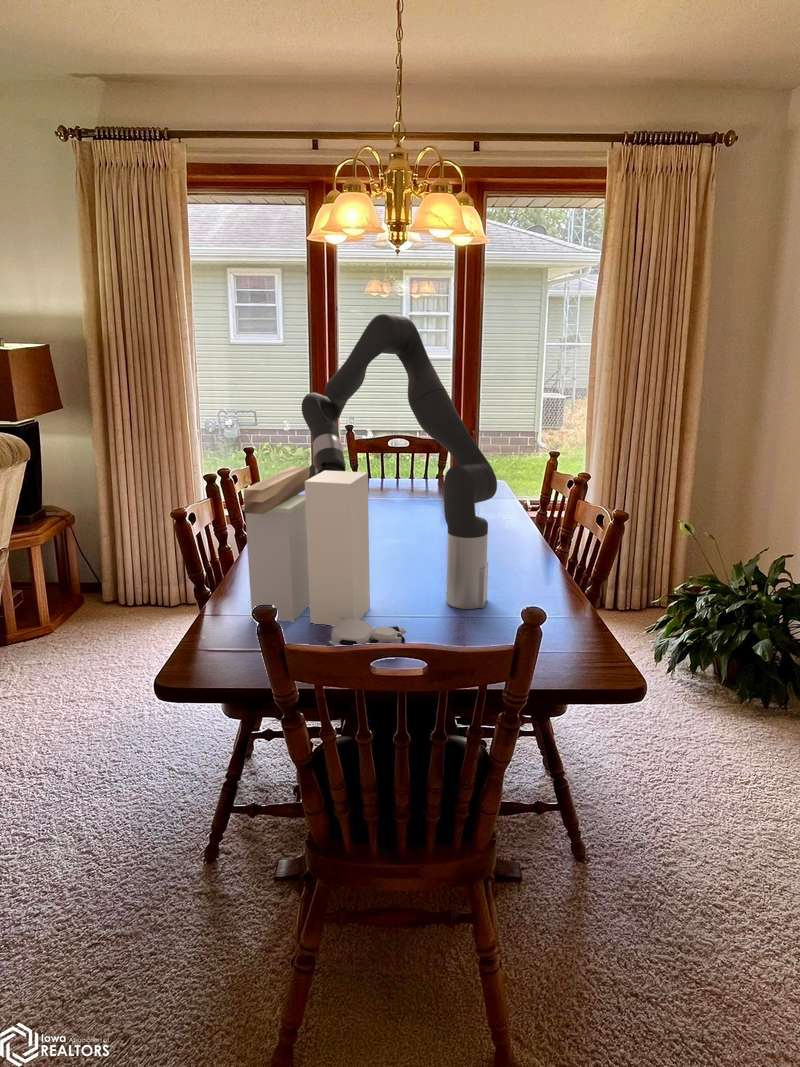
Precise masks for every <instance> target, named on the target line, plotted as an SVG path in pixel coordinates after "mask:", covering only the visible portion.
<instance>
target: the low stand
mask: <svg viewBox="0 0 800 1067" xmlns="http://www.w3.org/2000/svg"><path fill="white" fill-rule="evenodd" d="M241 511H244V514H245V515H244V516H245V529H246V530H245V532H246V533H245V534H246V545H247V546H246V547H247V548H246V549H247V559H248V562H247V563H248V577H249V587H250V588H249V590H250V608H251V611H252V610H253V608H254V607H255V606H258V605H261V604H271V605H274V606H275V607H276V608H277V610H278V618H277V620H276V621H278V622H279V619H280V622H282V621H281V620H284V621H283V622H287V621H294V622H296V620H298V618H300V617H301V616H302V614H303V613H304V612H305V611H306V610H307V609H308V608H309V607H310V606H309V605H310V600H309V576H308V551H307V527H306V503H305V494H300V493H299V494H297V495H296V496H294V497H292V498H290V499H289V500H287V501H285V502H283V503H282V504H280V505H278V506H276V507H275V508H273V509H271V510H269V511H268V512H266V513H264V514H251V513H245V506H244V504H243V505H241ZM308 606H309V607H308ZM307 607H308V608H307ZM306 608H307V609H306ZM305 609H306V610H305ZM304 610H305V611H304ZM303 611H304V612H303ZM302 612H303V613H302ZM301 613H302V614H301ZM297 617H298V618H297ZM295 619H296V620H295Z"/></svg>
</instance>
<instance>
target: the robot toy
mask: <svg viewBox="0 0 800 1067" xmlns="http://www.w3.org/2000/svg"><path fill="white" fill-rule="evenodd" d="M339 618H340V619H342V621H340V622H339V623H337V624H336V625H335V626H332V628H331V637H330V638H331V640H329V641H328V643H329V644H331V646H333V645H353V644H366V643H404V644H405V643H406V638H405V636H403V635H404V634H407V633H406V632H407V629H405V628H404V627H399V626H397V625H396V626H376V627H374V628H373V626H372V624H371V623H369V622H368V621H366V620H362V619H361V620H353V619H345V618H343V617H339Z"/></svg>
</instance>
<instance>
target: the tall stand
mask: <svg viewBox="0 0 800 1067" xmlns="http://www.w3.org/2000/svg"><path fill="white" fill-rule="evenodd" d="M304 492H305V493H304V495H305V503H306V527H307V551H308V576H309V600H310V606H309V615H310V616H309V622H310V623H315V624H325V625H326V624H328V625H336V624H337V623H339V622H340V621H342V619H340V618H339V617H343V618H345V619H353V620H360V619H361V618H362V619H363V618H364V617H365V615H366V614H367V612H369V610H370V609H371V601H370V598H371V597H370V595H371V594H370V592H371V591H370V582H371V581H370V539H369V538H370V536H369V535H370V532H369V530H370V529H369V528H370V527H369V523H370V522H369V472H364V471H348V470H347V471H346V470H345V471H327V470H325V471H323V472H321V473H319V474H317V475H315V476H314V477H312V478H310V479H308V480H306V481H305V490H304ZM369 608H370V609H369ZM368 609H369V610H368ZM365 613H366V614H365ZM364 614H365V615H364ZM362 619H361V620H362ZM315 624H314V625H315ZM325 625H324V626H325Z"/></svg>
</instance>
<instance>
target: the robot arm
mask: <svg viewBox="0 0 800 1067" xmlns="http://www.w3.org/2000/svg"><path fill="white" fill-rule="evenodd" d="M381 354H388V355H396V356H397V358H398V359H399V361H400V362H401V365H403V368H404V370H405V372H406V375H407V380H408V381H407V401H408V404H409V407H410V409H411V411H412V413H413V415H414V417H415V419H416V421H417V423H418V425H419V426H420V427H421V429H422V430H423V431H424V432H425V433H426V434H427V435H428V436H429V437H431V438H432V439H433V440H434V441H435V442H437V443H438V444H440V446H442V447H443V448H444V449H445V450H446V451H448V453H449V454H450V455H451V456H452V458H453V459H454V461H455V463H456V465H453V466H451V467H450V468H448V469H447V471H446V473H445V475H444V476H445V477H444V479H443V504H444V505H443V506H444V507H443V509H444V511H443V512H444V520H445V523H446V526H447V547H446V548H447V552H446V553H447V554H446V592H445V594H446V600H445V601H446V604H447V605H449V606H451V607H453V608H456V609H459V610H460V609H461V610H474V609H484V608H485V605H486V603H487V600H488V577H489V562H488V539H489V538H488V536H489V534H488V533H489V522H488V521H487V519H485V518H484V517H481V516H477V515H476V504H478V503H481V502H486V501H488V500H491V499H492V498H493V497H494V496H495V494H496V493H497V491H498V479H497V476H496V473H495V471H494V469H493V467H492V465H491V464H490V463H489V461H488V460H487V457H485V455H484V454H483V452H482V451H481V449H480V448H479V446H478V444H476V441H475V440H474V439H473V437H472V436H471V434H470V432H469V430H468V429H467V426H466V425H465V423H464V421H463V420H462V418H461V416H460V414H459V413H458V411H457V408H456V407H455V405H454V403H453V401H452V399H451V397H450V395H449V393H448V391H447V389H446V388H445V386H444V385H443V382H442V380H441V379H440V377H439V375H438V372H437V370H436V369H435V367H434V365H433V363H432V361H431V360H430V358H429V356H428V353H427V351H426V348H425V345H424V343H423V340H422V338H421V335H420V333H419V331H418V329H417V327H416V324H415V323H414V321H412V319H410V318H409V317H407V316H405V315H402V314H401V315H400V314H394V313H379V314H376V315H375V316H374V317H373V318H372V319H371V320H370V322H369V323H368V324H367V326H366V327H365V329H364V330H363V332H362V334H361V336H360V338H359V339H358V340H357V342H356V344H355V345H354V347H353V349H352V350H351V352H350V353H349V355H348V357H347V359H346V360H345V361H344V363H343V364H342V365H341V367H340V368H338V369H337V370H336V372H335V373H334V374H333V375H332V377H330V379H328V381H327V382H326V383H325V386H324V389H323V390H324V394H325V395H322V394H320V393H318V392H309V393H307V394H306V395H305V396H304V397H303V399H302V403H301V414H302V417H303V419H304V421H305V423H306V425H307V427H308V430H309V431H310V433H311V438H312V444H313V449H312V451H313V458H314V459H313V460H314V465H313V464H311V465H310V466H308V467H309V479H310V478H312V477H314V476H315V475H317V474H319V473H321V472H323V471H325V470H327V471H346V461H345V456H344V455H345V454H344V450H343V449H344V448H343V446H342V442H341V438H340V433H339V432H340V431H339V428H338V425H337V424H336V423H337V422H338V421H339V419H340V417H341V414H342V412H343V410H344V408H345V406H346V404H347V402H348V401H349V400H350V399H351V398H352V396H354V394H355V393H357V391H358V390H359V389H360V388H361V386H362V385H363V384H364V381H365V376H366V374H367V368H368V366H369V364H371V363H372V362H373V361H374V360H375V359H376V358H377V357H378V356H380V355H381Z"/></svg>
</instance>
